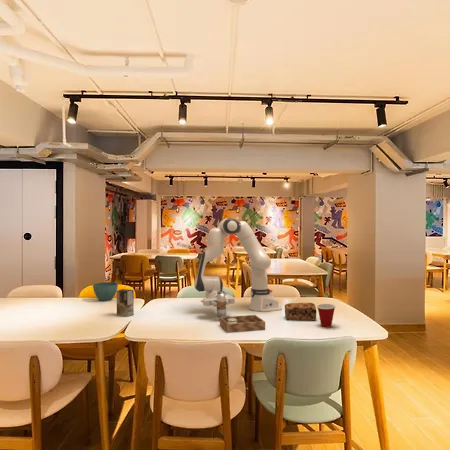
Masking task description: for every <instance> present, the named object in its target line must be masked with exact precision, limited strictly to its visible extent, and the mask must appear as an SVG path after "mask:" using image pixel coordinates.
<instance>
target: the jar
mask: <svg viewBox="0 0 450 450" xmlns="http://www.w3.org/2000/svg"><path fill="white" fill-rule="evenodd" d="M233 323H237V319H235V318H229V319H228V324H233Z"/></svg>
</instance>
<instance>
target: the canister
mask: <svg viewBox="0 0 450 450" xmlns="http://www.w3.org/2000/svg"><path fill="white" fill-rule="evenodd" d="M226 293H227V292H225V291H224V290H222V291H218V292H217V306H216V316H217V318H220V317H227V305H226Z"/></svg>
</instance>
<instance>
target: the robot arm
mask: <svg viewBox="0 0 450 450" xmlns="http://www.w3.org/2000/svg"><path fill="white" fill-rule="evenodd" d="M230 235H236V237H237V238H238V240H239V242H240V245H241V246H242V248H243V249H244V250H245V252H246V254H247V255H248V256H249V257H248V258H249V259H248V260H249V265H250V266H249V267H250V273H251V274H250V275H251V288H250V296H251V297H250V303H249V308H248V309H249V310H250V311H255V312H262V313H266V312H274V311H280V310H281V311H282V309H283V307H282V306H280V304H279V301H278V299H277V298H276V297H275V296H273V295H272V294H271V293H273V291H274V290H273V289H271V288H268V281H269V280H268V279H269V277H268V275H267V269H268V268H270V267H271V265H272V259H271V258H270V256H269V255H268V253H267V252H266V251H265V249H264V247H263V246H262V245H261V243H260V242H259V240H258V238H257V236H256V235H255V232H254V231H253V229H252V228H251V226H250V224H248V222H246V221H244V220H241V221H238V220H237V219H235V218H233V217H229V218H224V219H221V220H220V221H219V222H218V224H217V225H216V227H213V228H211V229H210V230H209V232H208V236H207V244H206V248H205V250H204V251H202V253H201V255H200V259H199V263H198V267H197V272H196V276H195V278H194V284H193V285H194V286H193V287H194V289H195V290H196V291H197V292H205V295H204V296H205V297H204V298H202V300H200V302H201V303H202V305H203V306H204V307H212V306H213V307H217V292H218V291H223V287H224V284H223V283H224V282H223V280H222V278H221V277H220V276H214V275H213V276H211V275H210V276H209V275H207V276H206V275H204V274H205V270H206V265H207V264H208V263H209V262H210V261H211V260H214V259H217V258H219V257H221V256H222V254H223V252H224V249H225V248H224V242H225V238H226V236H230ZM225 293H226V306H228V305H233V304H235V302H236V301H235V300H236V298H235V297H234V296H232V295H231V294H229V293H227V292H225Z"/></svg>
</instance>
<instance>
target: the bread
mask: <svg viewBox="0 0 450 450" xmlns="http://www.w3.org/2000/svg"><path fill="white" fill-rule="evenodd" d="M284 315H285V320H286V321H293V322H294V321H297V322H298V321H301V322H302V321H303V322H304V321H305V322H306V321H307V322H312V321H317V306H316V304H315V303H313V302H296V303H295V302H293V303H291V302H290V303H286V304H284Z"/></svg>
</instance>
